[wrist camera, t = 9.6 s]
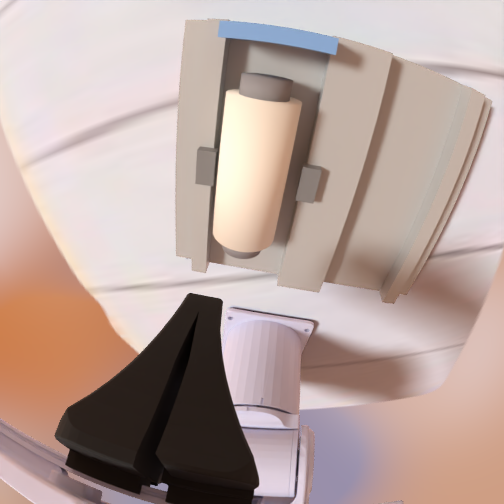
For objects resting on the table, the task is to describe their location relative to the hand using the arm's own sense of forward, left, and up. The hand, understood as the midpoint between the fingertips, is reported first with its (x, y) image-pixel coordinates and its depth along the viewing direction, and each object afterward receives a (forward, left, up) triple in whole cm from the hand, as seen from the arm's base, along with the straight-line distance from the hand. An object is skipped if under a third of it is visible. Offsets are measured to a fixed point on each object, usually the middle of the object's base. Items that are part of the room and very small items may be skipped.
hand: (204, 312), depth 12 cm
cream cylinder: (+3, -1, -9) cm, 9 cm away
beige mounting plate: (+3, -5, -10) cm, 12 cm away
